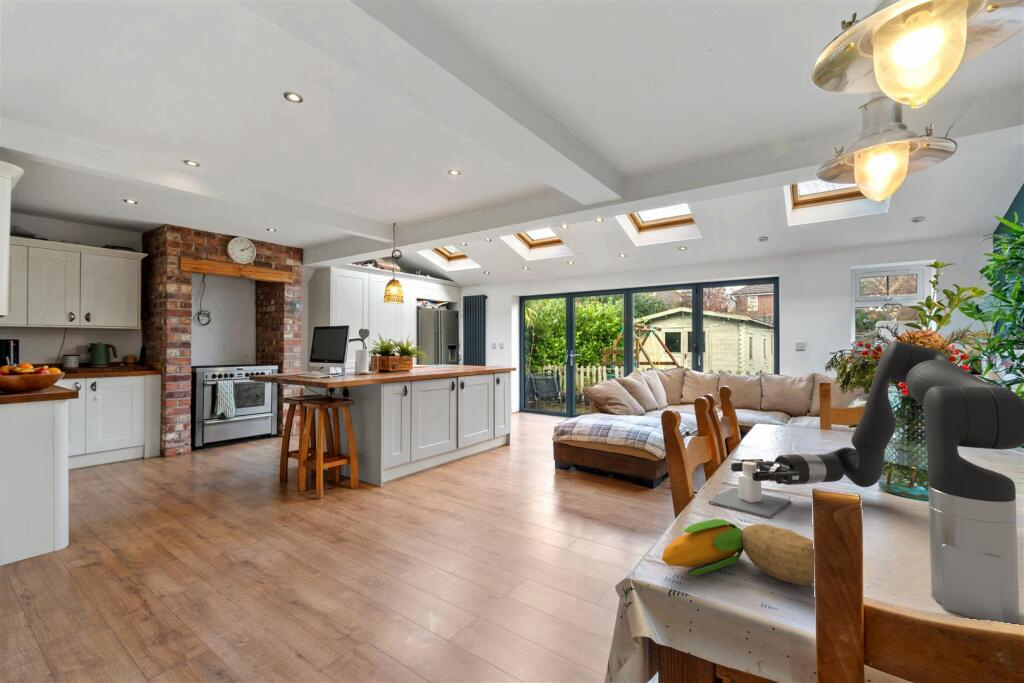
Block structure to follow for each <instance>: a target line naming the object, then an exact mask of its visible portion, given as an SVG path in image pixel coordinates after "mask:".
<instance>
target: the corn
mask: <svg viewBox="0 0 1024 683" xmlns="http://www.w3.org/2000/svg"><path fill="white" fill-rule="evenodd" d="M742 530H743V529H741V528H740V527H738V526H737V525H736V524H733V523H732V522H730V521H728V520H726V519H722V518H721V519H716V518H715V519H709V520H705V521H699V522H696V523H692V524H691V525H688V526H687V527H686V528H684V530H683V532H684V534H683V535H681V536H679V537H677V538H676V539H674V540H672V541H671V542H670V543H669V544H668V545H666V547H665V548H664V549H663V553H662V557H661V560H662V561H663V563H665V564H666V565H667V566H669V567H670V566H671V567H682V568H697V567H700V566H704V567H701V568H697V569H695V570H692V571H691V572H689V573H688V576H697V575H696V574H700V575H703V574H706V573H705V572H707V573H710V572H712V570H713V571H717V570H719V568H720V569H723V568H725V567H728V566H731V565H735V564H737V562H738V561H739V559H740V558H741V556H742V554H743V552H744V548H743V541H742ZM711 563H712V564H711ZM708 564H710V565H708ZM705 565H708V566H705ZM722 567H723V568H722ZM709 571H710V572H709ZM702 573H703V574H702Z"/></svg>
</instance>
